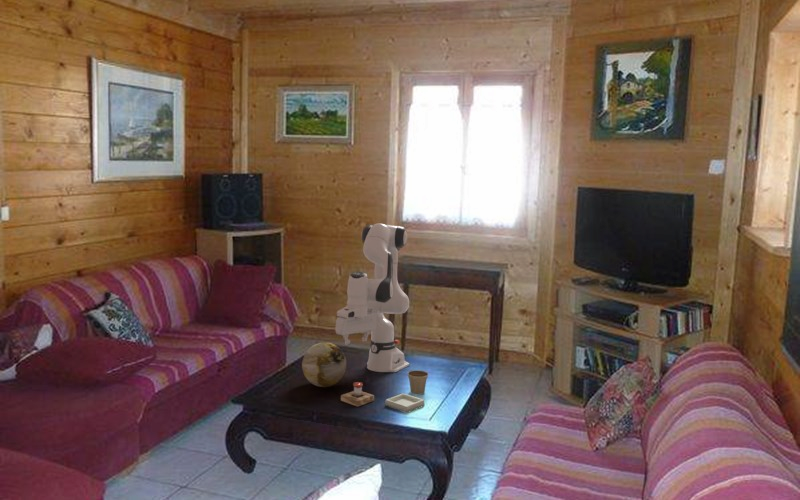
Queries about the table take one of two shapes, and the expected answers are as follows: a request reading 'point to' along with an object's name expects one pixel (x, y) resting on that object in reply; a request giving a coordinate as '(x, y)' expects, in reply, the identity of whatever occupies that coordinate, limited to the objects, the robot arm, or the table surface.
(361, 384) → the pin
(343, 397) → the block
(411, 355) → the table surface
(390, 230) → the robot arm
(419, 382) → the flower pot
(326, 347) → the decorative sphere
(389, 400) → the tray
